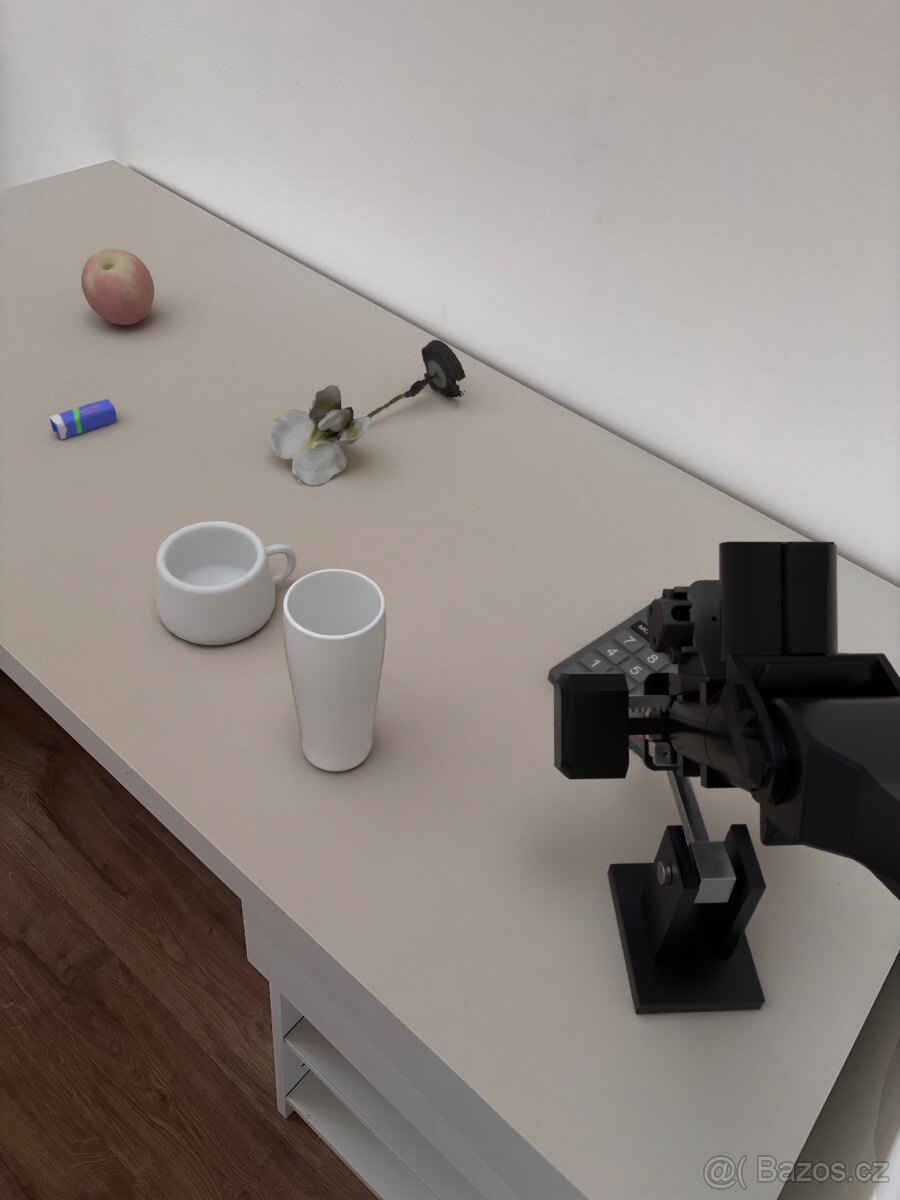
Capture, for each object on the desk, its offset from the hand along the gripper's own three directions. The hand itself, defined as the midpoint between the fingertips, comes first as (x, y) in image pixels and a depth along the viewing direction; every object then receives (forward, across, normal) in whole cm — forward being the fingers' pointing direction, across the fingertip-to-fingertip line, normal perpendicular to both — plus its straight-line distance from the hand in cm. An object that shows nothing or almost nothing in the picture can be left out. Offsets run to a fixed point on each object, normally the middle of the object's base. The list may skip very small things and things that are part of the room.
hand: (668, 711), depth 72 cm
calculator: (+14, -4, -1) cm, 15 cm away
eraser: (+38, +48, -25) cm, 66 cm away
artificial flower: (+38, +19, -25) cm, 49 cm away
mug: (+20, +32, -8) cm, 38 cm away
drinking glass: (+10, +22, +3) cm, 25 cm away
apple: (+53, +47, -40) cm, 82 cm away
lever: (-2, 0, +6) cm, 7 cm away
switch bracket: (-2, 0, +15) cm, 15 cm away
